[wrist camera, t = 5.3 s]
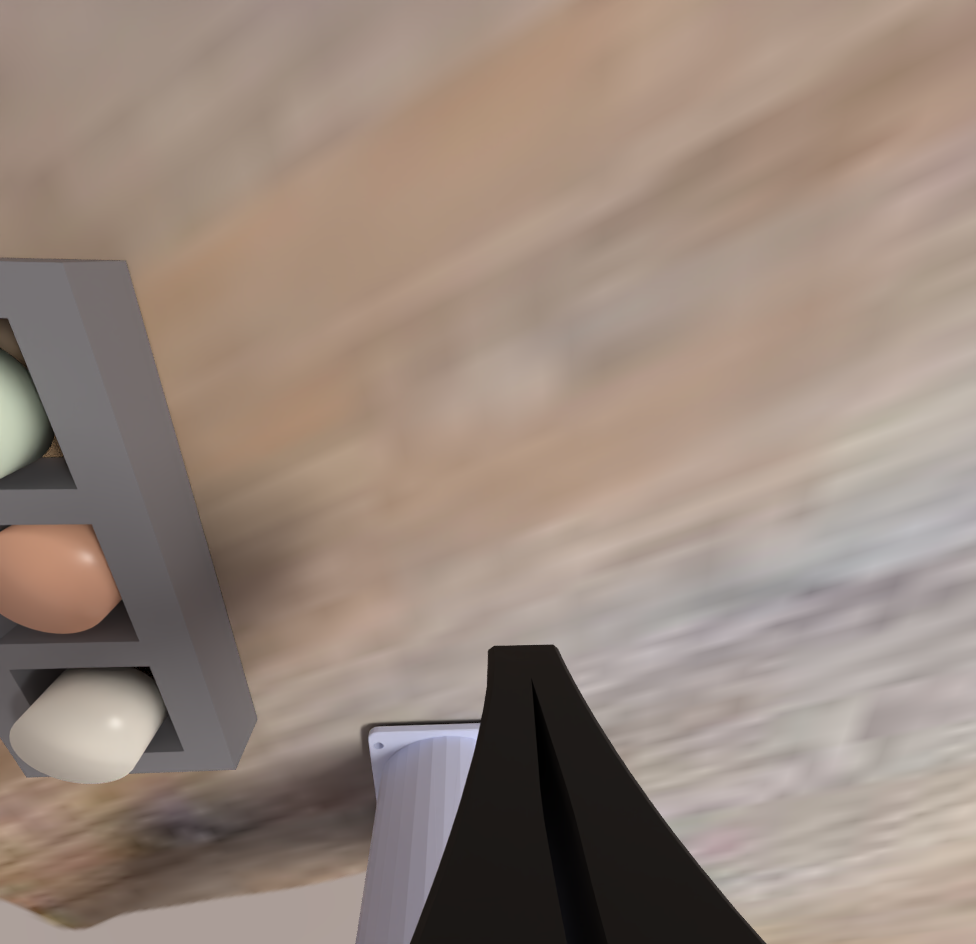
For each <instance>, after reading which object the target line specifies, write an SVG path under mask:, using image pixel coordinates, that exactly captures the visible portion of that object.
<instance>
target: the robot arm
mask: <svg viewBox="0 0 976 944" xmlns="http://www.w3.org/2000/svg"><path fill="white" fill-rule="evenodd" d="M368 743H369V750H370V757H371V765H372V772H373V779H374V787H375V794H376V801H377V806H376V812H375V819H374V826H373V832H372V839H371V845H370V852H369V858H368V865H367V872H366V878H365V885H364V891H363V898H362V904H361V912H360V917H359V924H358V931H357V937H356V944H766V943H765V942H764V941H763V939H762V938H761V937H760V936H759V935H758V934H757V933H756V932H755V930H754V929H753V928H752V927H751V926H750V925H749V924H748V923H747V921H746V920H745V919H744V918H743V917H742V916H741V915H740V914H739V912H738V911H737V910H736V909H735V908H734V907H733V905H732V904H731V903H730V902H729V901H728V899H727V898H726V897H725V896H724V895H723V893H722V892H721V891H720V890H719V888H718V887H717V886H716V885H715V884H714V882H713V881H712V880H711V879H710V878H709V876H708V875H707V874H706V873H705V871H704V870H703V869H702V868H701V867H700V865H699V864H698V863H697V862H696V860H695V859H694V858H693V856H692V855H691V854H690V853H689V851H688V850H687V849H686V848H685V846H684V845H683V844H682V842H681V841H680V840H679V839H678V837H677V836H676V835H675V833H674V832H673V831H672V829H671V828H670V827H669V826H668V824H667V823H666V822H665V820H664V819H663V818H662V816H661V815H660V813H659V812H658V811H657V809H656V808H655V807H654V805H653V804H652V802H651V801H650V800H649V798H648V797H647V795H646V794H645V793H644V791H643V790H642V788H641V787H640V785H639V784H638V783H637V781H636V780H635V778H634V777H633V775H632V774H631V773H630V771H629V770H628V768H627V767H626V765H625V764H624V762H623V761H622V759H621V758H620V756H619V755H618V753H617V752H616V750H615V748H614V747H613V745H612V744H611V742H610V740H609V739H608V737H607V736H606V734H605V733H604V731H603V729H602V728H601V726H600V725H599V723H598V722H597V720H596V718H595V717H594V715H593V713H592V712H591V710H590V708H589V707H588V705H587V703H586V701H585V700H584V698H583V696H582V694H581V693H580V691H579V689H578V687H577V685H576V684H575V682H574V680H573V678H572V676H571V674H570V672H569V671H568V669H567V667H566V665H565V663H564V661H563V659H562V657H561V654H560V652H559V650H558V648H556V647H555V646H554V645H515V646H493V647H492V648H491V649H489V650H488V671H487V690H486V696H485V702H484V708H483V713H482V718H481V723H467V724H436V725H405V726H378V727H374V728H372V729H371V730H370V731H369V736H368Z"/></svg>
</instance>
